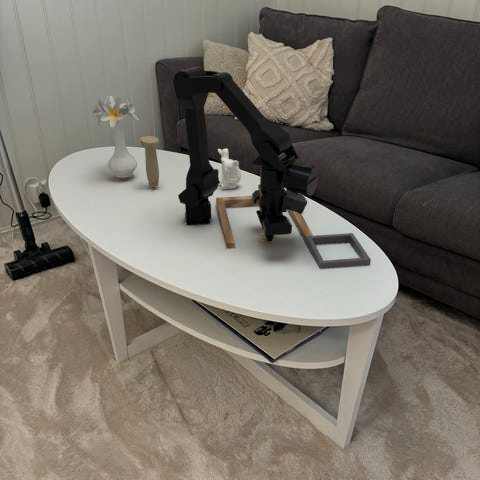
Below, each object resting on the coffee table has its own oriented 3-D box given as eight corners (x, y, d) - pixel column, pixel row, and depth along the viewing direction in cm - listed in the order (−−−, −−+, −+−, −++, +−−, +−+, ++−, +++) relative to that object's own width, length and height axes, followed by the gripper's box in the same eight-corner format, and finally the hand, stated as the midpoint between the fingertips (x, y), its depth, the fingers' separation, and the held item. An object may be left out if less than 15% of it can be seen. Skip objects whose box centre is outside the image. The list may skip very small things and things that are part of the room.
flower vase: (130, 160, 165) (122, 87, 152) (151, 179, 151) (144, 101, 138) (94, 167, 159) (82, 93, 146) (112, 188, 145) (100, 107, 132)
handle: (151, 190, 144) (147, 144, 136) (142, 183, 149) (137, 138, 141) (165, 187, 147) (161, 140, 139) (156, 180, 151) (151, 134, 143)
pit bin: (319, 274, 108) (320, 263, 107) (305, 246, 118) (306, 236, 117) (368, 270, 110) (370, 259, 108) (351, 243, 120) (352, 233, 118)
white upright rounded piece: (211, 185, 148) (210, 149, 142) (228, 179, 152) (228, 144, 146) (228, 194, 143) (228, 157, 136) (245, 188, 146) (245, 152, 140)
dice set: (267, 234, 125) (267, 227, 123) (277, 243, 121) (278, 236, 120) (250, 238, 122) (251, 232, 121) (261, 248, 119) (261, 241, 118)
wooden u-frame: (226, 252, 116) (226, 243, 114) (216, 205, 137) (216, 197, 135) (313, 245, 119) (314, 237, 117) (289, 201, 140) (290, 193, 138)
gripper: (316, 200, 103) (310, 259, 111) (295, 167, 119) (291, 220, 127) (267, 203, 102) (264, 262, 110) (252, 169, 117) (251, 223, 126)
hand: (269, 240), depth 118 cm, fingers closed
